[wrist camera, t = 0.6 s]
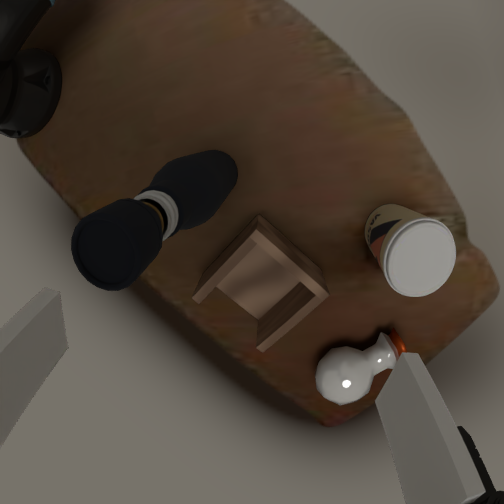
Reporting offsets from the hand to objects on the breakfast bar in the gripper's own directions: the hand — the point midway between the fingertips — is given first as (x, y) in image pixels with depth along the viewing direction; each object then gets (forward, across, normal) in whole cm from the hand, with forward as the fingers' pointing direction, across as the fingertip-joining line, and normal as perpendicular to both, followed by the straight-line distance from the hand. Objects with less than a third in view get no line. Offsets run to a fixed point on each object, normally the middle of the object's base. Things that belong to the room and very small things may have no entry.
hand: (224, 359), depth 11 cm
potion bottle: (+33, +21, -22) cm, 45 cm away
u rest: (+33, +3, -12) cm, 35 cm away
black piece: (+34, -5, +1) cm, 34 cm away
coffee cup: (+33, +20, -2) cm, 39 cm away
